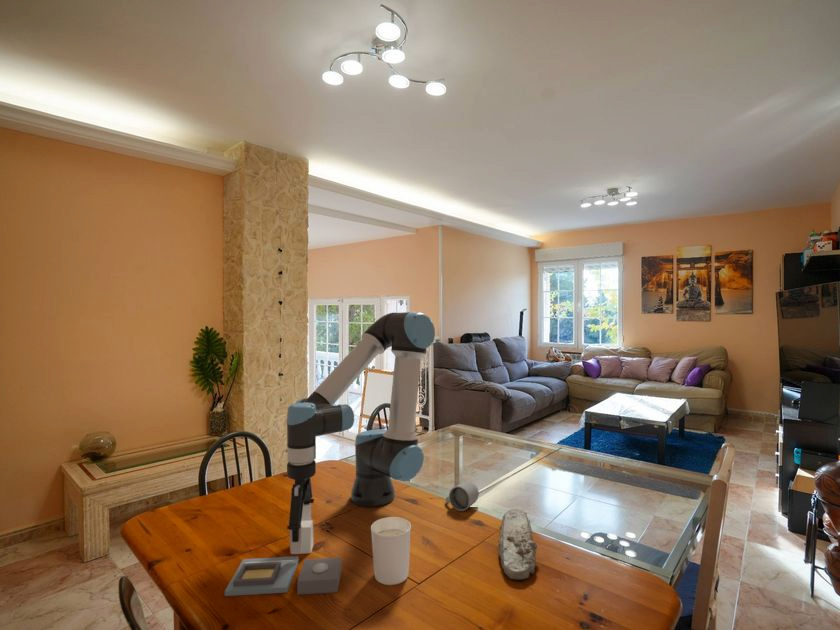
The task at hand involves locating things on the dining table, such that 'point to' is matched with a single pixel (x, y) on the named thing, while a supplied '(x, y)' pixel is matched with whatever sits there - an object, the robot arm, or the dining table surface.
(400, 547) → the candle holder
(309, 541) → the plug
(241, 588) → the board
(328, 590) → the grey push button box
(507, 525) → the long grey stone
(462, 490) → the ceramic mug
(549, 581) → the dining table surface
